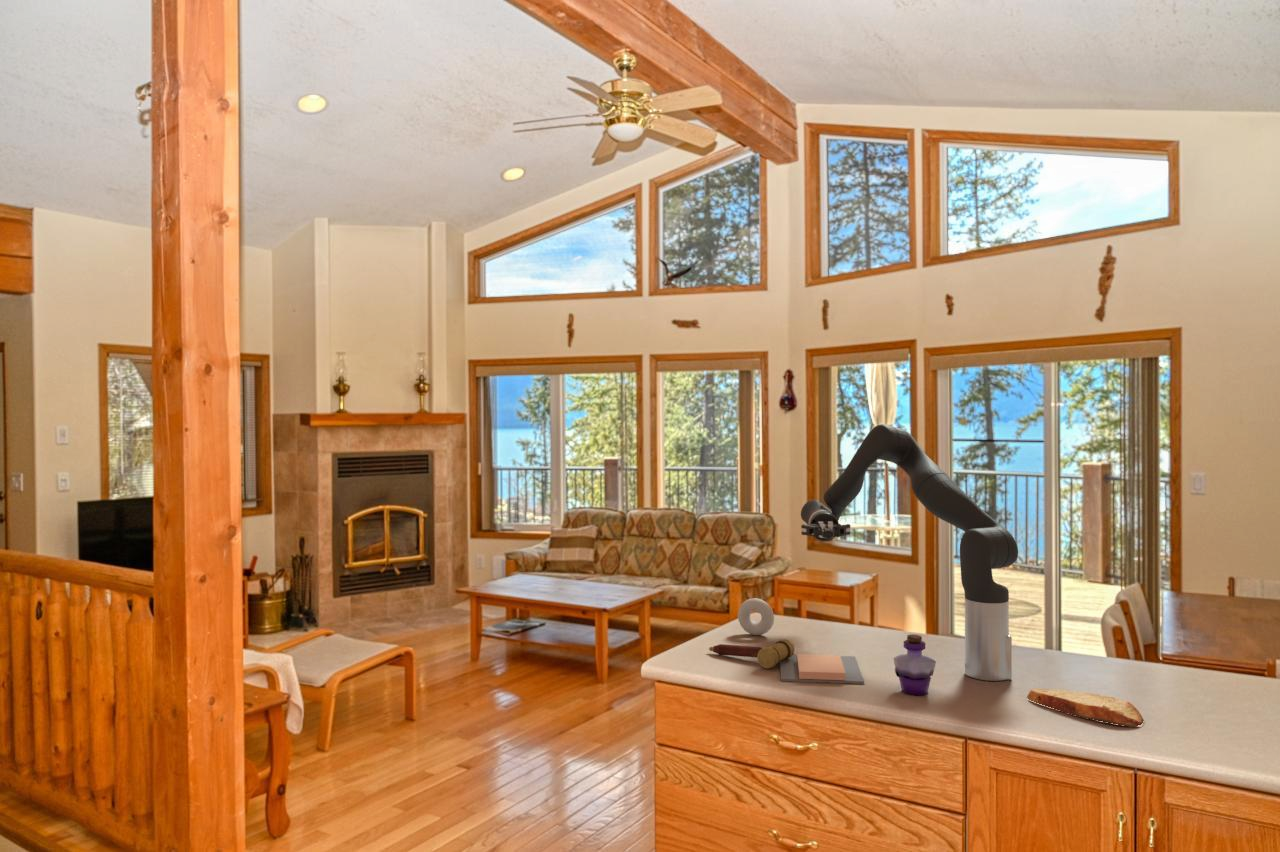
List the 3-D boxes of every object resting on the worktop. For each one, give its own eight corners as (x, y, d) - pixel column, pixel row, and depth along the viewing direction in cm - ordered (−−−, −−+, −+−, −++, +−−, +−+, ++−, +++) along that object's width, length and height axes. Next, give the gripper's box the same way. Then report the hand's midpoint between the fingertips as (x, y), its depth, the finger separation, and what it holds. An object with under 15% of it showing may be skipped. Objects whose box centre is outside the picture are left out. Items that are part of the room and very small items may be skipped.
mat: (855, 658, 208) (855, 656, 208) (864, 684, 188) (864, 681, 188) (779, 656, 211) (779, 653, 211) (780, 681, 191) (780, 678, 191)
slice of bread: (1021, 696, 180) (1021, 679, 180) (1112, 699, 178) (1112, 681, 178) (1051, 727, 163) (1051, 707, 163) (1153, 731, 161) (1153, 711, 160)
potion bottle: (894, 684, 188) (893, 629, 188) (935, 687, 186) (935, 632, 186) (892, 696, 180) (892, 639, 180) (936, 700, 177) (936, 642, 177)
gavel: (697, 644, 210) (719, 635, 218) (699, 662, 210) (720, 653, 218) (773, 649, 198) (793, 639, 206) (775, 669, 198) (795, 658, 205)
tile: (840, 655, 203) (845, 673, 189) (840, 662, 203) (845, 681, 189) (797, 654, 204) (799, 671, 190) (797, 661, 204) (799, 679, 190)
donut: (736, 634, 232) (735, 597, 232) (740, 631, 235) (739, 595, 235) (772, 638, 228) (772, 600, 228) (775, 635, 231) (775, 598, 231)
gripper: (797, 511, 229) (800, 519, 212) (848, 510, 227) (855, 519, 210) (798, 539, 229) (801, 549, 212) (849, 538, 228) (856, 549, 210)
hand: (828, 534), depth 211 cm, fingers closed
